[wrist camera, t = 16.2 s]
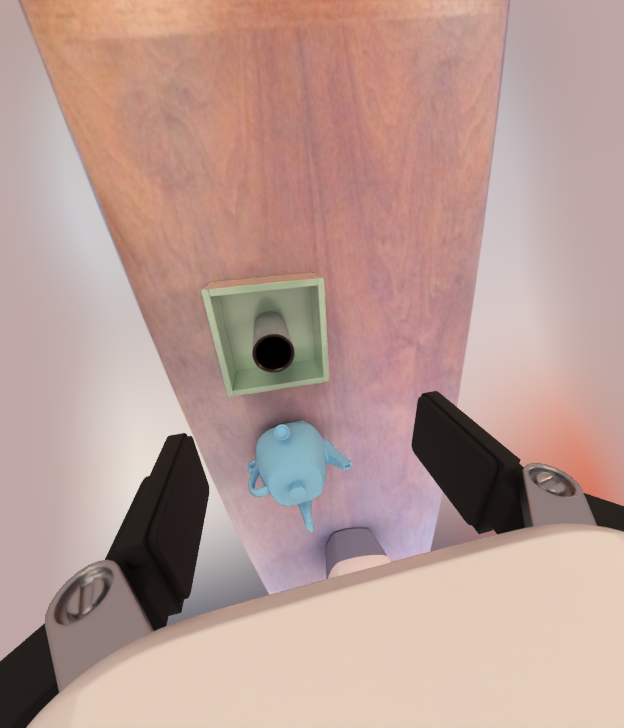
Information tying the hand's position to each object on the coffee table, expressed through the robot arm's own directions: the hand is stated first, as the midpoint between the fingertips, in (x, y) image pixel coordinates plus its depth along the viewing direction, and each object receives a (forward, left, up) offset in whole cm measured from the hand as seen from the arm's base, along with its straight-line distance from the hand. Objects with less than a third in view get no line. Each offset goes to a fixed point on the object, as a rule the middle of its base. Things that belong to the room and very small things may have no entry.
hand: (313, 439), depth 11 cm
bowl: (+10, -60, -29) cm, 68 cm away
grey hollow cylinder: (-1, -3, -28) cm, 28 cm away
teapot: (0, -25, -29) cm, 39 cm away
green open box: (-1, -3, -29) cm, 29 cm away
